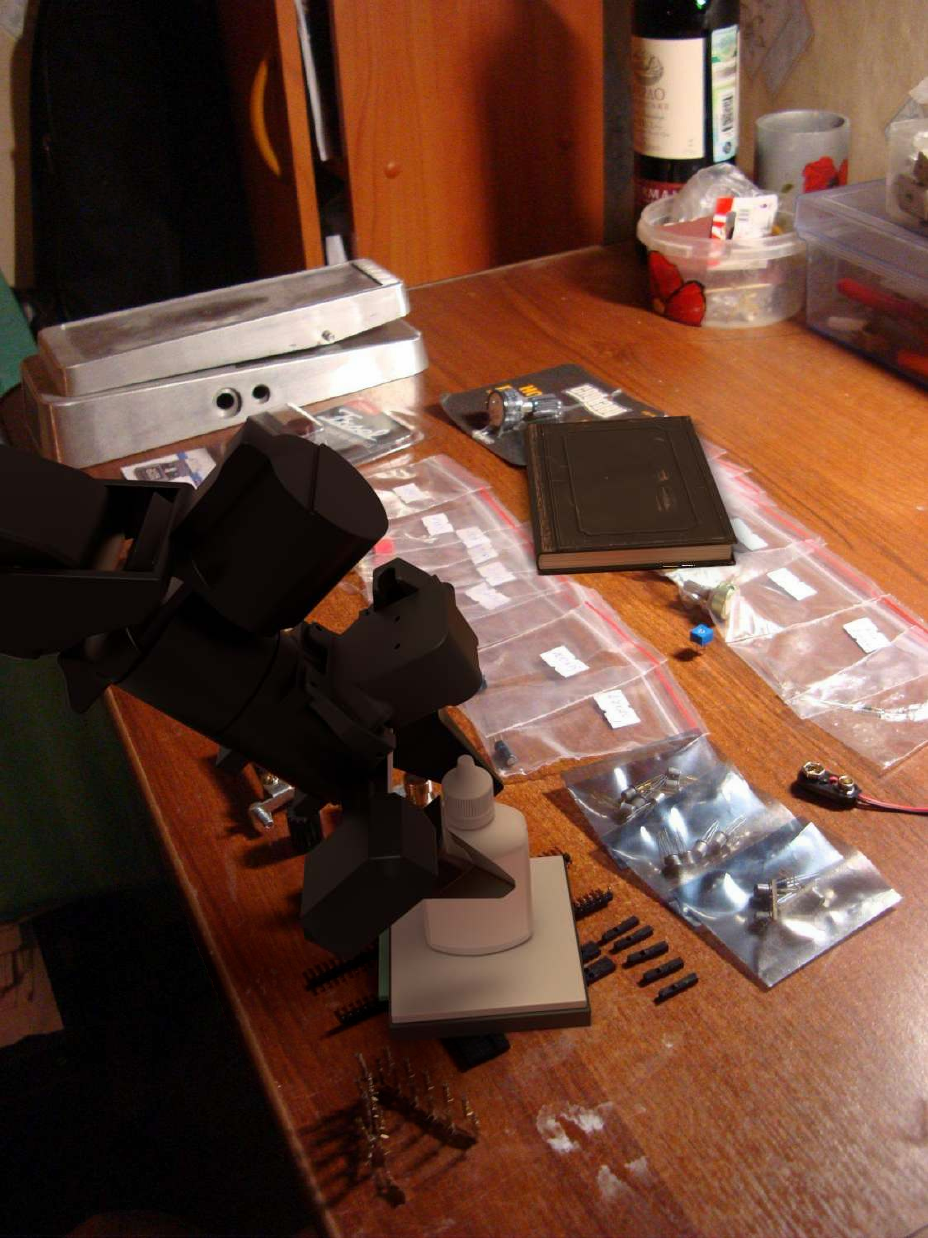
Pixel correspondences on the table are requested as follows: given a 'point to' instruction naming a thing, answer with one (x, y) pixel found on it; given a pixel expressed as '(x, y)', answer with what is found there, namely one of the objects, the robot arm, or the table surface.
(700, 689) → the table surface
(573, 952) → the kitchen scale
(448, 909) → the eye dropper bottle
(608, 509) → the hardcover book
